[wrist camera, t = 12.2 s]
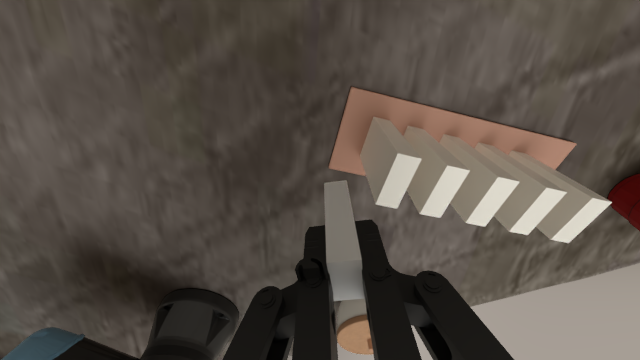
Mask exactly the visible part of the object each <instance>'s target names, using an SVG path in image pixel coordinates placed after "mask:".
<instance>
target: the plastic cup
mask: <svg viewBox="0 0 640 360" xmlns="http://www.w3.org/2000/svg"><path fill="white" fill-rule="evenodd" d="M608 200H609V201H611V202H612V203H611V204H610V205H611V206H612V208H613V209H614V210H616V211H617V212H618V213H619V214H621V215H622V216H623V217H624V218H626V219H627V220H628V221H629V223H630V224H632V225H633V226H634V227H635V228H637V229H638V230H639V231H640V174H636V175H633V176H631V177H629V178H627V179H624V180H623V181H622V182H620V183H619V184H617V185H616V186H615V187H614V188H613V189H612V191H611V192H610V193H609V196H608Z"/></svg>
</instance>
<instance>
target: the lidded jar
mask: <svg viewBox="0 0 640 360" xmlns="http://www.w3.org/2000/svg"><path fill="white" fill-rule="evenodd" d="M337 341H338V343H339V344H340V346H342V348H344V349H345V350H347V351H350V352H353V353H357V354H374V353H373V347H372V341H371V335H370V329H369V323H368V320H367V312H366V302H365V298H364V299H353V300H342V301H341V302H340V305H339V308H338V314H337Z"/></svg>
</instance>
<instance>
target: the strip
mask: <svg viewBox="0 0 640 360" xmlns="http://www.w3.org/2000/svg"><path fill="white" fill-rule="evenodd" d="M373 117H377V118H382V119H386V120H390V121H391V122H392V123H393V125H394V126H395V127H396V128H397V129H398V131H399V132H400V133H401V134H402V135H403V136H404V133H405V131H406V129H407V126H412V127H416V128H420V129H424V130H425V131H426V132H427V133H429V134H430V135H431V136H432V137H433V138H434V139H435V140H436V141H438V142H440V140H441V138H442V136H443V134H446V135H450V136H454V137H458V138H460V139H462V140H463V141H464V142H466V143H467V144H469V145H470V146H471V147H473V148H475V147H476V145H477V144H478V142H479V143H483V144H487V145H492V146H494V147H496V148H497V149H499V150H501V151H502V152H504V153H505V154H507V155H509V153H510V152H511V151H512V150H513V151H517V152H521V153H525V154H528V155H529V156H531V157H533V158H535V159H536V160H538V161H540V162H542V163H544V164H545V165H547V166H549V167H551V168H552V169H554V170H555V169H556V168H557V167H558V166H559V164H560V163H561V162H562V161H563V160H564V159H565V157H566V156H567V155H568V154H569V153H570V151H571V150H572V149H573V148H574V147H575V146H576V143H574V142H570V141H567V140H563V139H559V138H555V137H551V136H547V135H543V134H539V133H535V132H531V131H527V130H523V129H519V128H515V127H511V126H507V125H503V124H499V123H495V122H491V121H487V120H483V119H479V118H475V117H471V116H467V115H463V114H459V113H455V112H451V111H447V110H443V109H439V108H435V107H431V106H427V105H423V104H419V103H415V102H411V101H407V100H403V99H399V98H395V97H391V96H387V95H383V94H379V93H375V92H371V91H367V90H363V89H359V88H355V87H351V89H350V92H349V96H348V99H347V103H346V106H345V110H344V114H343V117H342V121H341V124H340V128H339V131H338V135H337V138H336V142H335V145H334V149H333V153H332V156H331V160H330V163H329V168H330V169H334V170H339V171H344V172H349V173H354V174H358V175H363V176H366V174H365V170H364V167H363V164H362V161H361V158H360V154H361V151H362V148H363V145H364V142H365V139H366V137H367V134H368V131H369V128H370V125H371V122H372V119H373Z"/></svg>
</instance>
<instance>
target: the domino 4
mask: <svg viewBox="0 0 640 360" xmlns="http://www.w3.org/2000/svg"><path fill="white" fill-rule="evenodd" d="M474 149H475V150H477V151H478V152H480V153H481V154H482V155H484V156H485V157H487V158H488V159H489V160H491V161H492V162H493V163H495V164H496V165H498V166H499V167H500V168H502V169H503V170H505V171H506V172H507V173H509V174H510V175H511V176H513V177H514V178H516V179H517V180H518V181H520V182H519V184H518V185H517V186H516V188H515V189H514V190H513V191H512V193H511V194H510V195H509V197H508V198H507V199H506V200H505V202H504V203H503V204H502V205H501V207H500V208H499V209H498V211H497V212H496V213H495V214H494V217H495V218H496V219H497V220H498V221H499V222H500V223H501V224H502V225H503V226H504V227H505V228H506V229H507V230H508V231H509V232H514V233H520V234H525V235H528V234H529V233H530V232H531V231H532V230H533V229H534V228H535V227H536V226H537V224H538V223H539V222H540V221H541V220H542V219H543V218H544V217H545V216H546V215H547V214H548V213H549V212H550V210H551V209H552V208H553V207H554V206H555V205H556V204H557V203H558V202H559V201H560V200H561V199H562V198H563V196H564V195H565V194H566V193H567V192H566V191H565V190H563V189H561V188H560V187H558V186H557V185H555V184H553V183H552V182H550V181H549V180H547V179H545V178H544V177H542V176H541V175H539V174H537V173H536V172H534V171H533V170H531V169H529V168H528V167H526V166H525V165H523V164H521V163H520V162H518V161H517V160H515V159H513V158H512V157H510V156H509V155H507V154H505V153H504V152H502V151H501V150H499V149H497V148H496V147H494V146H492V145H487V144H483V143H479V142H478V144H477V145H476V147H475V148H474Z"/></svg>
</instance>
